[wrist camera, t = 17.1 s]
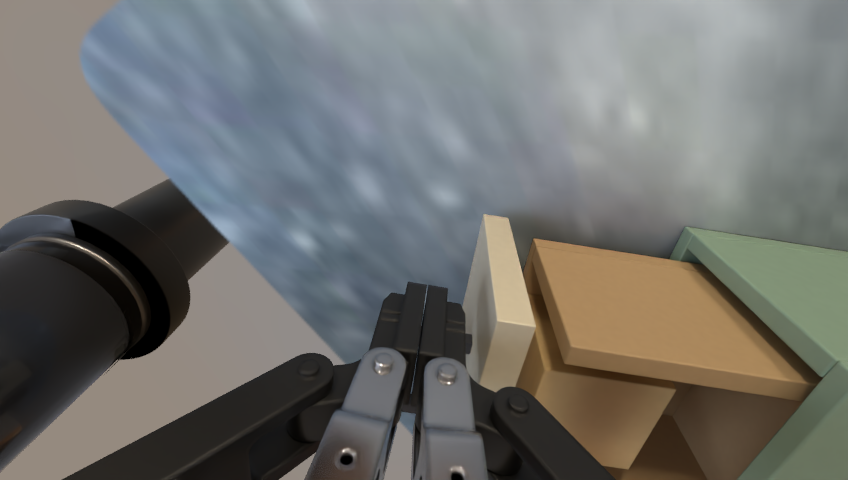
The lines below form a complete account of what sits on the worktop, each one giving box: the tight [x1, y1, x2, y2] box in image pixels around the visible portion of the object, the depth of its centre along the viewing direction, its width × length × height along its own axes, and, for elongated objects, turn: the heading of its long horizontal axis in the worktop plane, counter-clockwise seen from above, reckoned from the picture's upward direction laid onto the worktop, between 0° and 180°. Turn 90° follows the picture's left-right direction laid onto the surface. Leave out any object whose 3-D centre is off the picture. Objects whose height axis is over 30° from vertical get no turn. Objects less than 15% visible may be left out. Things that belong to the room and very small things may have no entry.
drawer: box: [402, 214, 823, 480], centre depth 18 cm, size 17×11×8 cm, turn 82°
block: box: [515, 293, 676, 469], centre depth 18 cm, size 5×5×5 cm
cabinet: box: [669, 227, 848, 480], centre depth 18 cm, size 15×13×10 cm
